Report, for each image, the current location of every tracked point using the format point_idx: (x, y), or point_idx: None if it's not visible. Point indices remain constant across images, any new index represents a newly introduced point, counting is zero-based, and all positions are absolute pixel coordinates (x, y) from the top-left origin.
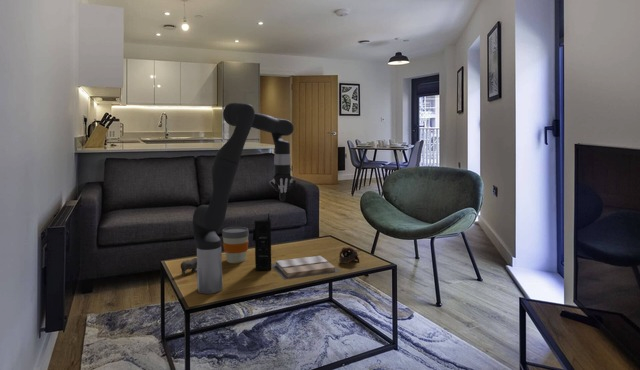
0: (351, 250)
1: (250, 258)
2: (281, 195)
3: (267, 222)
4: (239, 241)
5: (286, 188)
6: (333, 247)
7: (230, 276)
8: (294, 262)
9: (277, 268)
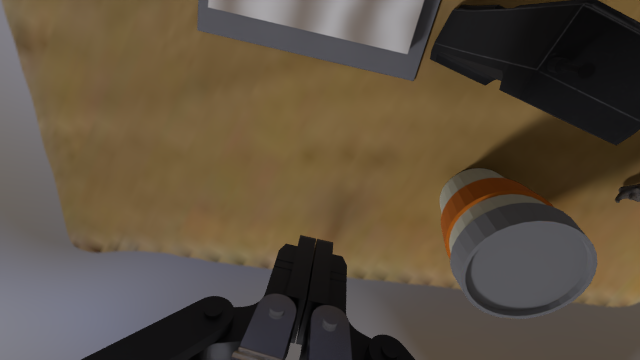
0: None
1: (422, 188)
2: (329, 287)
3: (604, 6)
4: (527, 199)
5: (242, 342)
6: (100, 132)
7: None
8: None
9: (422, 11)
